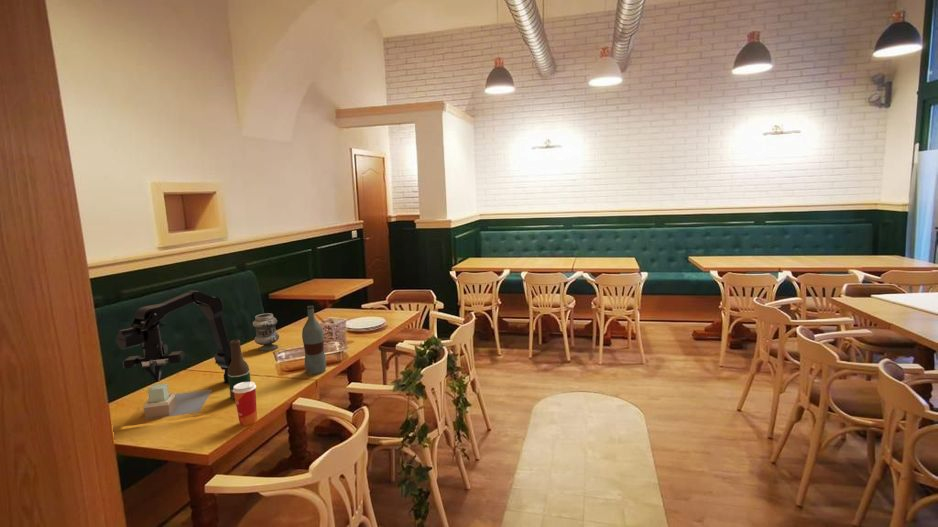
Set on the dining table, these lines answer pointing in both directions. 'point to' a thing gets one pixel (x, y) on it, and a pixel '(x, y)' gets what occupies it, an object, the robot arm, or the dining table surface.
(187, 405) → the board
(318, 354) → the vodka
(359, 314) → the dining table surface
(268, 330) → the apothecary jar
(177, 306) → the robot arm
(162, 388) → the green block
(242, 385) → the paper cup
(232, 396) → the beer bottle
